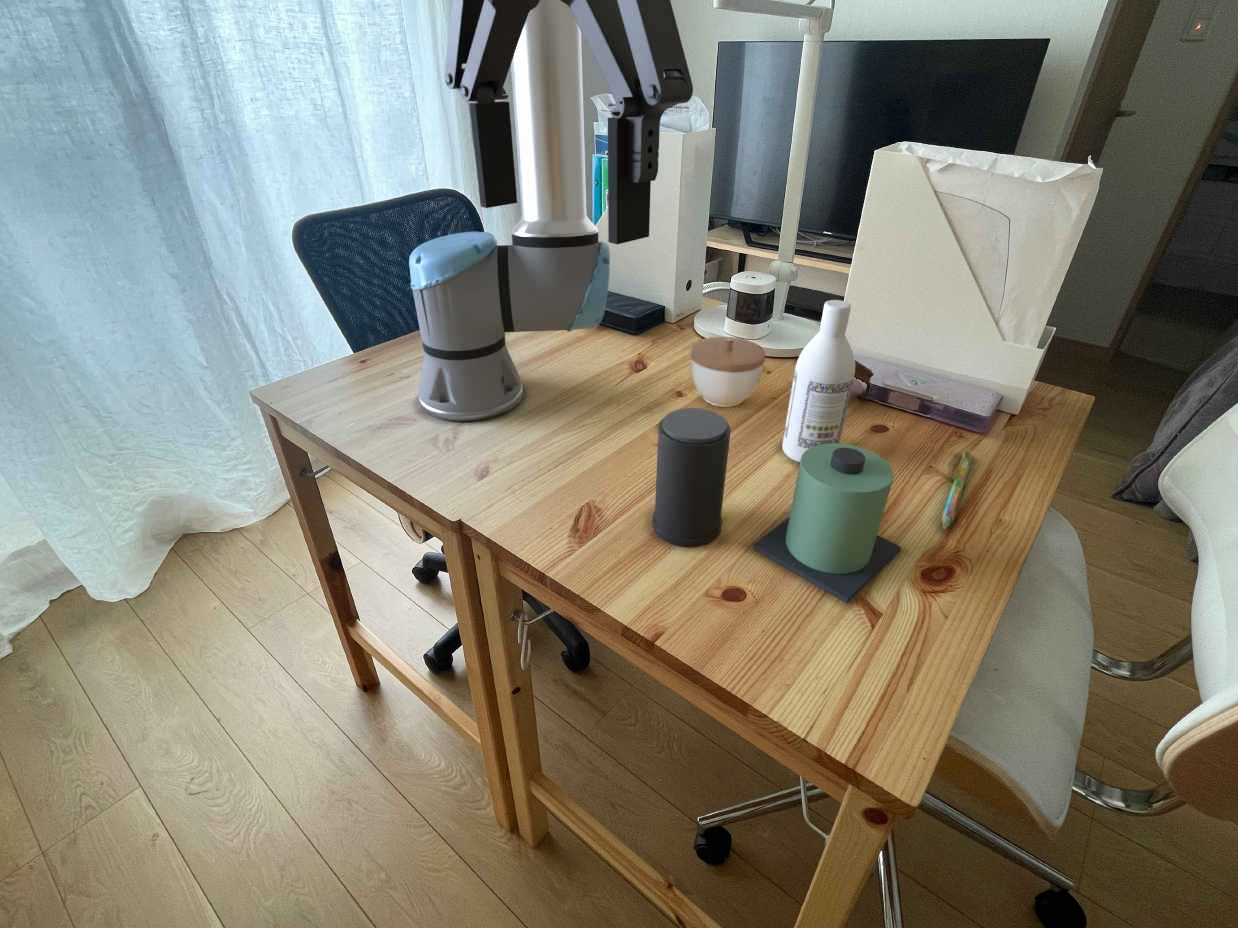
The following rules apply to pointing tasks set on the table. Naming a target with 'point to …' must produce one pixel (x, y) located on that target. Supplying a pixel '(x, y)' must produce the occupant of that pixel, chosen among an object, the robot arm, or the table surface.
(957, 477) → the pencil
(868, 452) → the green knobbed cylinder
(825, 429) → the bath foam
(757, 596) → the table surface
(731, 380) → the white bowl with lid
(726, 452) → the cylinder
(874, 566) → the mat
